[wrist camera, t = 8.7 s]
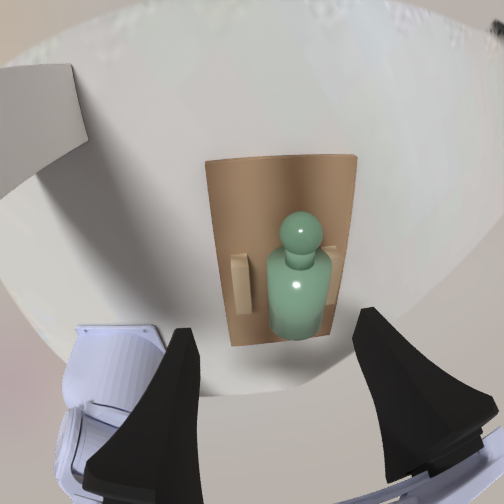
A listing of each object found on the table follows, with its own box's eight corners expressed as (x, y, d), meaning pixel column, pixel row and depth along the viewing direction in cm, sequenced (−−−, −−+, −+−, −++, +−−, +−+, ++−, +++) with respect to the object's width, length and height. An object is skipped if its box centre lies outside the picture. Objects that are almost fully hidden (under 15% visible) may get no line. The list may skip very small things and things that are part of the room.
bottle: (282, 348, 20) (286, 239, 15) (259, 309, 23) (254, 205, 18) (332, 328, 21) (352, 222, 16) (305, 294, 25) (313, 194, 19)
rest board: (231, 341, 28) (232, 361, 26) (205, 161, 17) (202, 172, 15) (328, 330, 28) (334, 348, 26) (353, 154, 18) (368, 165, 16)
